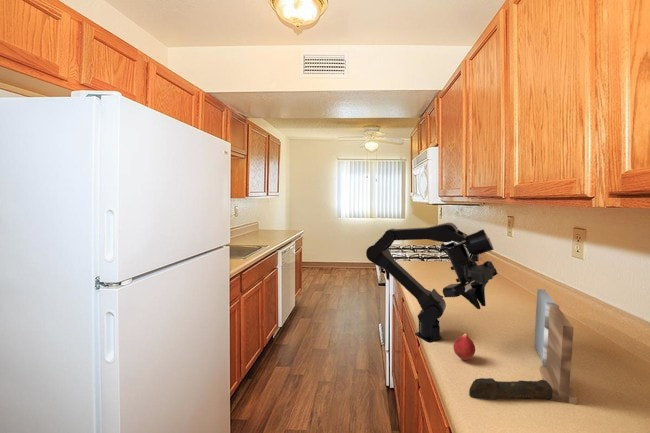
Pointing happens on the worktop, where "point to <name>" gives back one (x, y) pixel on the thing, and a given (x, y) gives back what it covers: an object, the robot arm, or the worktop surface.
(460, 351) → the onion
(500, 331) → the worktop surface
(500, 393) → the hand tool
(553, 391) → the hinge frame
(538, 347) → the hinged leaf
